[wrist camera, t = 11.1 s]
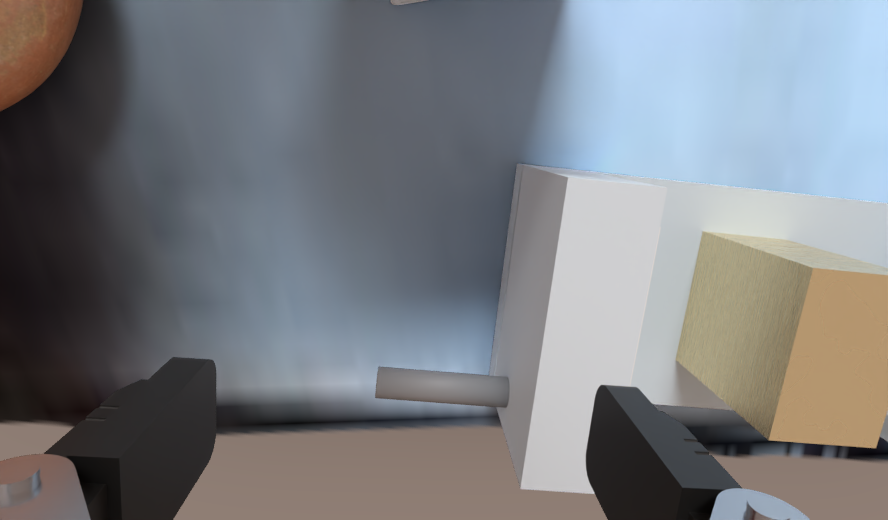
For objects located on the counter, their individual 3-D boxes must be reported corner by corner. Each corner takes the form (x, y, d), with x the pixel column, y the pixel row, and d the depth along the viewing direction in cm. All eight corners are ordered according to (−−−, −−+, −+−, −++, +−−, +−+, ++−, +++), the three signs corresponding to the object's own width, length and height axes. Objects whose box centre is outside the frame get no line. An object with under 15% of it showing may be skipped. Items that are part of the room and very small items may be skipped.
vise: (488, 379, 31) (518, 484, 22) (517, 163, 28) (565, 176, 19) (897, 411, 32) (1089, 521, 23) (959, 210, 30) (1203, 243, 21)
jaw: (378, 385, 29) (364, 479, 21) (399, 151, 26) (391, 158, 18) (566, 399, 29) (620, 495, 22) (604, 173, 27) (681, 189, 19)
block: (675, 359, 29) (768, 439, 22) (702, 231, 28) (813, 267, 20) (755, 366, 30) (875, 448, 22) (786, 239, 28) (927, 279, 20)
